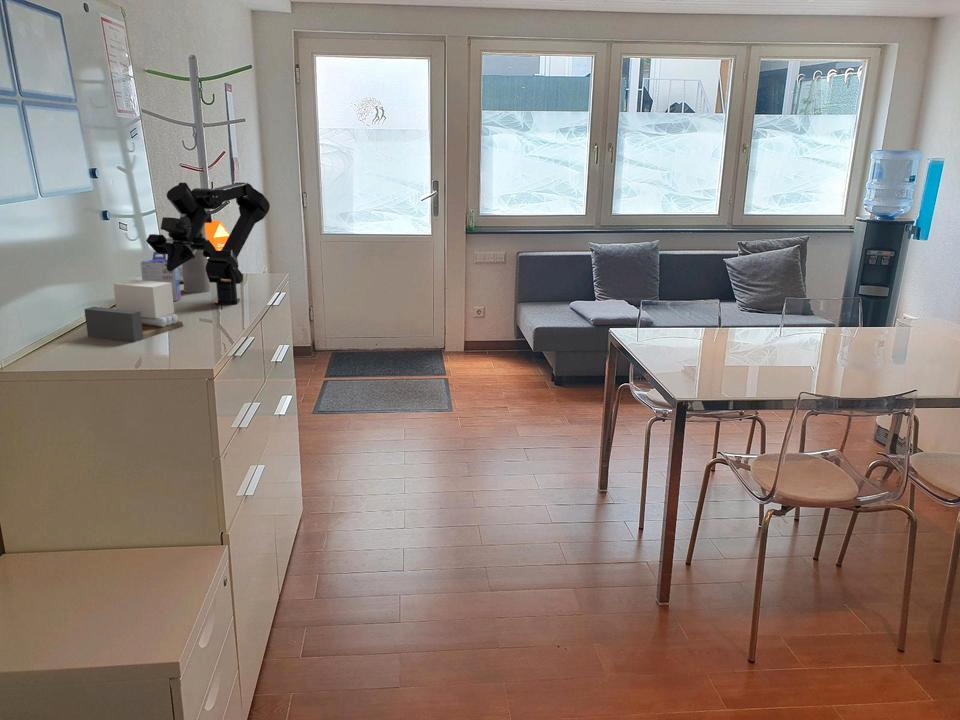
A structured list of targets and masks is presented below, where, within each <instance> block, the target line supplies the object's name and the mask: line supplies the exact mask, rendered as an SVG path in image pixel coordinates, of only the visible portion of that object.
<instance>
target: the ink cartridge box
mask: <svg viewBox="0 0 960 720" xmlns="http://www.w3.org/2000/svg"><path fill="white" fill-rule="evenodd" d="M158 255H160V254H159V253H156V252H155V251H153V253H152V259H144V260H142V261H140V268H141V269H140V270H141V280H145V281H157V282H169V283H171V284H172V295H173V302H174V301H175V302H176V301H179V300H180V299H181V298H182V295H181V283H180V282H179V271H178V267H177V268H176V269H174V270H173V271H168V270H167V256H166V255H167V254H161V255H162V256H158Z"/></svg>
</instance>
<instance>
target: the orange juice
mask: <svg viewBox="0 0 960 720" xmlns="http://www.w3.org/2000/svg"><path fill="white" fill-rule="evenodd" d="M205 231H206V238H208V239H209V241H210V242H211V243H212V245H213V246H214V247H215V249H216V250H222V248H223V246H224V245H225V243H226V241H227V239H228V237H229V235H230V234H229V232H228V230H227V229H226V227H225V225H224V224H223V222H221V220H212V223H205ZM208 258H209V257H207V259H208Z"/></svg>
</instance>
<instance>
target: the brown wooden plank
mask: <svg viewBox="0 0 960 720" xmlns="http://www.w3.org/2000/svg"><path fill="white" fill-rule="evenodd" d="M183 326H184V323H183V321H180V320H177V322H176V323H172V324H171V325H166V326H165V327H161V326H151V325H142V331H143V339H142V340H144V339H148V338H150V337H153V336H157V335H161V334H163V333H165V332H169V331H172V330H175V329H178V328H181V327H183Z"/></svg>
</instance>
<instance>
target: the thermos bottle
mask: <svg viewBox="0 0 960 720" xmlns="http://www.w3.org/2000/svg"><path fill="white" fill-rule="evenodd" d="M184 215H185V214H180V213H179V219H180V218H181V217H184ZM201 234H202V235H203V236H202V237H204V238H206V231H205V224H204V226H203V228H202V230H201ZM203 251H204V250H197V252H195V254H194V256H195V258H192V259H190V260H188V261H187V262H185V263H183V264H182V270H183V282H184V283H183V289H184V292H186V293H191V294H192V293H193V294H194V293H195V294H196V293H205V292H210V290H211V283H210V282H209V279H208V276H207V272H206V264H207V262H208V261H207V257H204V255H203Z"/></svg>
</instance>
